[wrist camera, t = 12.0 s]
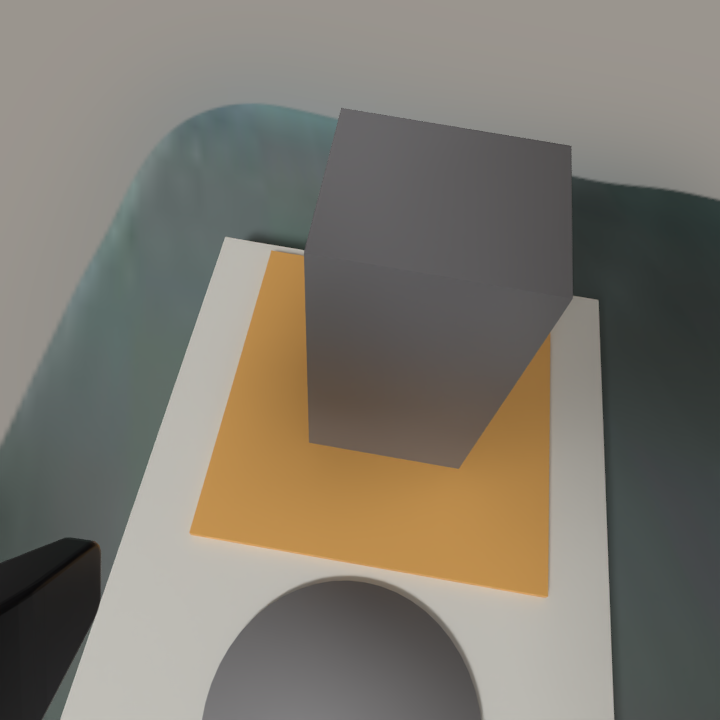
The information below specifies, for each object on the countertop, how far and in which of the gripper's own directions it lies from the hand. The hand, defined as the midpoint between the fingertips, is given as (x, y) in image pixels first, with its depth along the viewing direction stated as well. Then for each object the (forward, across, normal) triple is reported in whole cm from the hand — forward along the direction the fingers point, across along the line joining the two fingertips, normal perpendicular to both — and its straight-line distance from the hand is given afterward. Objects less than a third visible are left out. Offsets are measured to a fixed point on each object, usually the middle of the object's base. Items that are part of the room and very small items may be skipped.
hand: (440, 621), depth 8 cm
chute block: (+13, +1, +2) cm, 13 cm away
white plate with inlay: (+12, +1, +6) cm, 13 cm away
